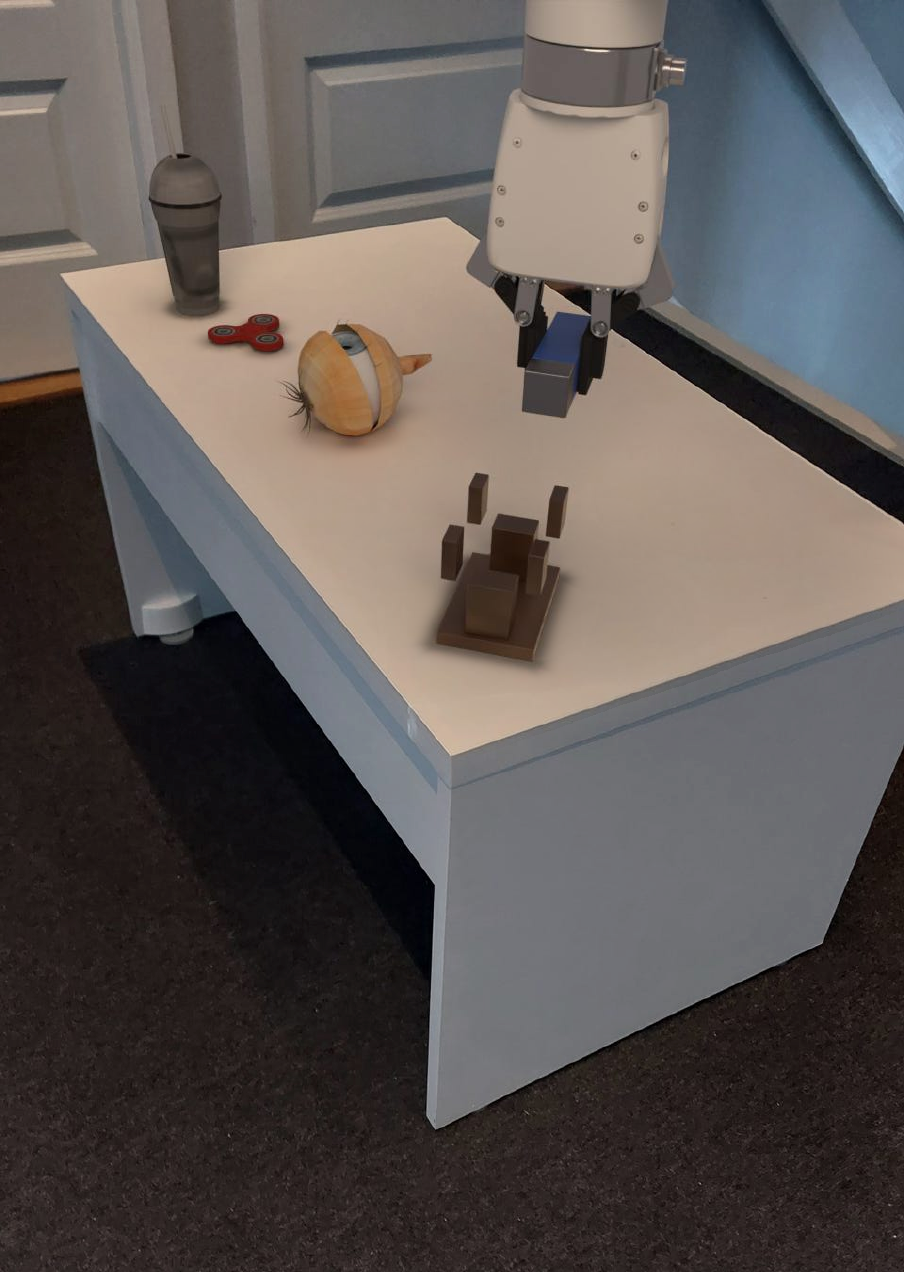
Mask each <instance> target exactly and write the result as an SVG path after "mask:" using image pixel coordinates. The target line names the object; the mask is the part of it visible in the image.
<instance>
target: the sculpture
mask: <svg viewBox="0 0 904 1272" xmlns="http://www.w3.org/2000/svg"><path fill="white" fill-rule="evenodd" d="M341 320H342V318H340V319H339V320H338V321H337V323H336V325H335V327H334V328H333V331H332V332H331V333H329V332H328V331H327V330H318V331H317V332H315V333H314V334H313V335H312V336H311V337H309V338H308V339H307V341H306V342H305V344H304V345H303V347H302V349H301V351H300V354H299V358H298V366H297V375H298V376H297V379H298V388H297V387H296V386H295V385H293V384H292V383H290V382H289V381H285V380H283V382H284V383H283V382H282V381H279V380H276V379H275V381H276V382H278V383H280V384H281V385H283V386H285V389H286V390H285V391H286V392H287V394H288V395H289V396H290V397H287V396H284V395H280V394H279V396H280V397H283V398H285V399H288V400H291V401H294V402H296V403H300V404H302V405H301V406H300V407H299V409H298V410H297V411H296V412H295V413H293V414H292V415H289V418H292V417H295V416H298V415H300V414H302V413H303V412H304V411H305V416H304V418H305V424H304V427H303V428H302V429H301V431H300V432H299V434H301V432H303V433H305V432H306V430H307V428H308V425H309V428H308V433H307V435H306V436H307V437H306V438H308V436H309V434H310V431H311V427H312V426H311V425H312V424H311V423H312V416H311V414H312V415H313V416H314V417H315V418H316V419H317V421H318V422H320V423H321V424H323V426H324V428H325V429H327V428H328V429H329V430H331V431H332V432H333V431H334V433H336V434H340V435H345V436H354V437H355V436H362V435H365V434H368V433H372V432H374V431H376V430H377V429H379V428H381V427H383V426H384V425H385V423H386V422H387V421H388V420H389V419H390V417H391V416H392V414H393V413H394V411H395V410H396V409H397V406H398V404H399V401H400V398H401V396H402V394H403V385H404V376H407V375H408V376H409V375H412V374H414V373H416V372H417V371H418V370H420V369H422V368H423V367H425V366H427V365H428V364H429V363H431V362H432V361H433V354H432V353H420V354H408V355H400V356H398V355H397V353H396V351H395V350H394V349H393V346H391V344H390V343H389V341H388V340H387V338H386V337H385V336H383V335H380V334H379V333H377V332H375V331H373V330H371V329H370V328H368V327H366V326H364V325H363V324H360V323H348V322H349V321H350V320H351V318H350V319H348V320H347V321H346V322H345V323H341V324H339V322H340V321H341ZM285 383H287V384H288V385H290V386H291V387H292V388H291V387H289V386H288V385H286V384H285ZM287 388H288V389H289V390H290V391H291V392H292V393H293V394H295V395H292V394H291V393H290V392H289V390H288V389H287Z"/></svg>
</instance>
